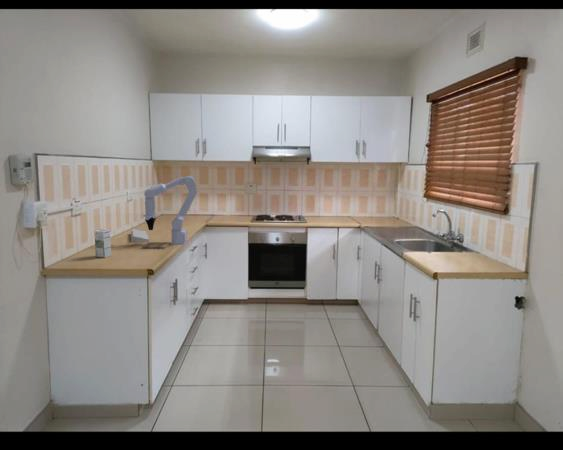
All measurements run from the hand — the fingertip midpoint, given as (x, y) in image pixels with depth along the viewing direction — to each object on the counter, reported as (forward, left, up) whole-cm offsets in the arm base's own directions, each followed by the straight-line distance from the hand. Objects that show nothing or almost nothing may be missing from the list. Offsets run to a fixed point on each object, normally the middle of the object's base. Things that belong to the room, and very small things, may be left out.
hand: (150, 229), depth 247 cm
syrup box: (+16, +34, -10) cm, 39 cm away
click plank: (-2, +7, -9) cm, 12 cm away
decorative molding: (+15, -23, -10) cm, 29 cm away
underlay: (-5, +7, -9) cm, 13 cm away
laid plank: (-9, +7, -9) cm, 14 cm away
